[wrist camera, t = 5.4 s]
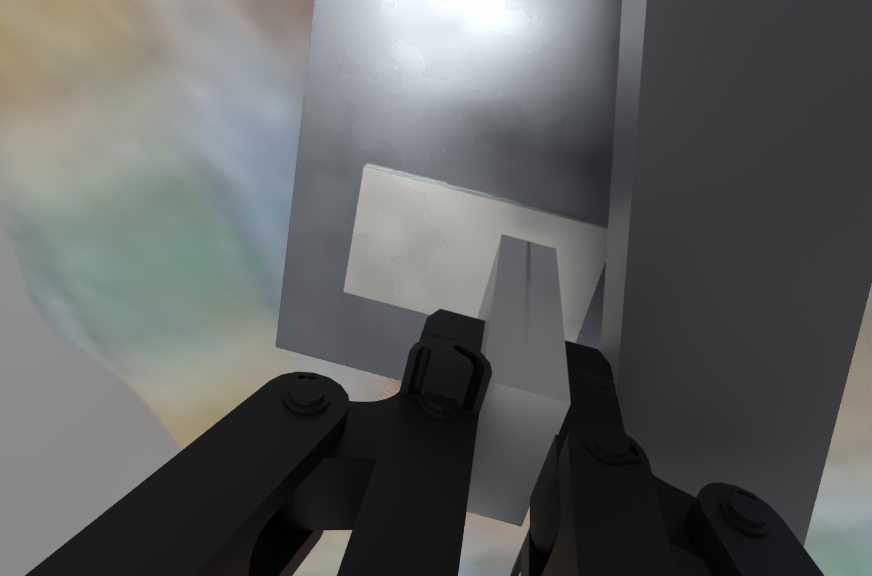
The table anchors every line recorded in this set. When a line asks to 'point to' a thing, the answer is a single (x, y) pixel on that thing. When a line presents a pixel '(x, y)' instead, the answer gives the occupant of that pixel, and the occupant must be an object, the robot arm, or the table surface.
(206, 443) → the robot arm
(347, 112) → the label panel
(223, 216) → the table surface
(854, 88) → the cable arm
